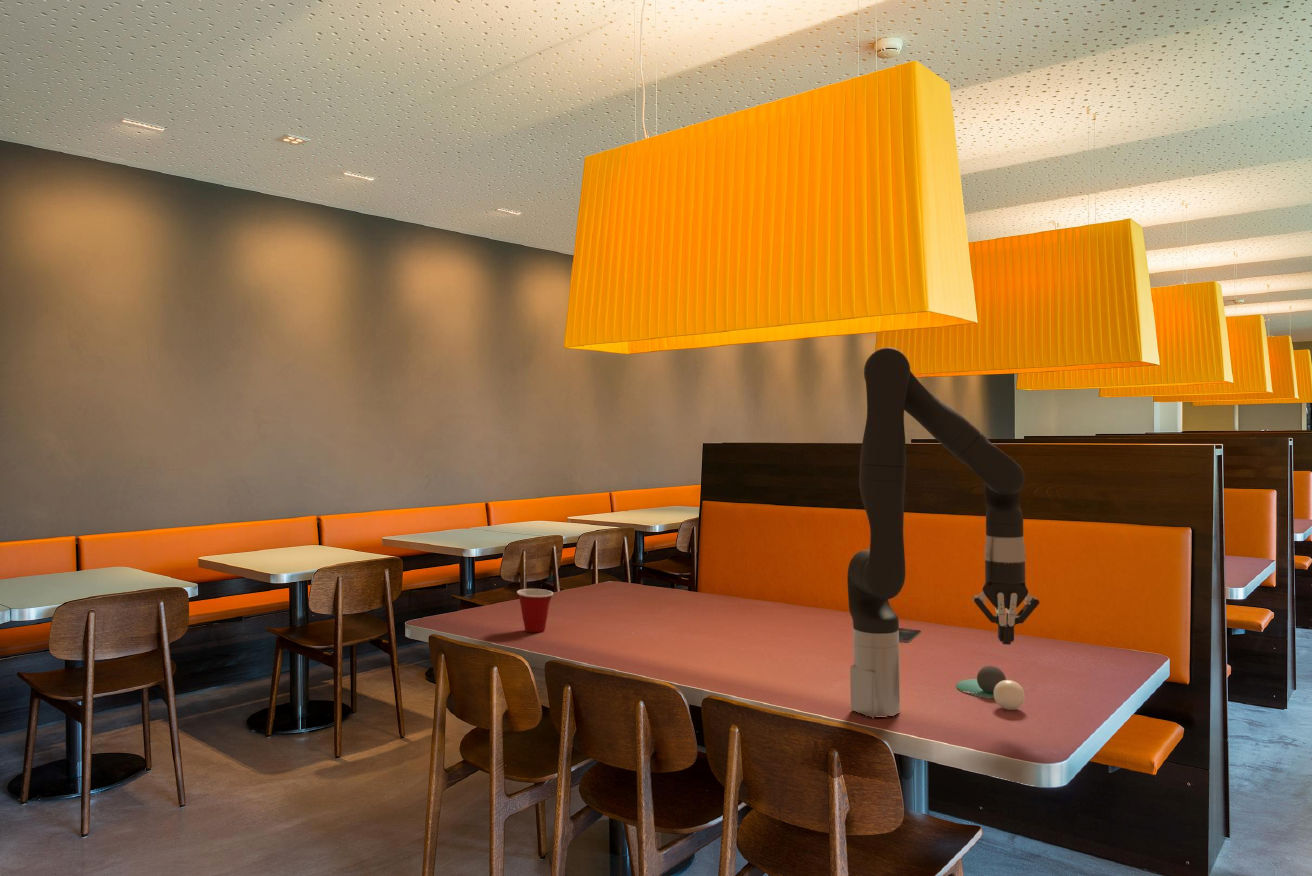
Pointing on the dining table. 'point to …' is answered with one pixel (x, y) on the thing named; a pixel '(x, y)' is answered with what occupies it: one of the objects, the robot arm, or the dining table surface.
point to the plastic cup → (534, 608)
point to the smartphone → (907, 634)
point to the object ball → (989, 678)
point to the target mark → (972, 688)
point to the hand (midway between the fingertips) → (1005, 643)
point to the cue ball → (1009, 694)
